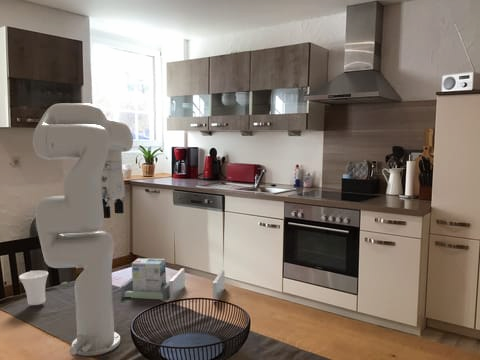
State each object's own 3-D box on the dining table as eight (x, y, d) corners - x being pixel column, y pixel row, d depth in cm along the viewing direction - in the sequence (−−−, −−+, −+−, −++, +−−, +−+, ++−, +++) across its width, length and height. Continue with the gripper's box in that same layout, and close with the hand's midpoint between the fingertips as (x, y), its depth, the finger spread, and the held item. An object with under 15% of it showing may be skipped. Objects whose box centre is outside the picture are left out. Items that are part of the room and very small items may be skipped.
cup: (47, 295, 151) (45, 267, 150) (52, 303, 143) (50, 274, 142) (19, 300, 146) (17, 272, 145) (22, 309, 138) (20, 279, 137)
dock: (166, 299, 148) (165, 288, 148) (121, 297, 151) (121, 286, 151) (177, 287, 161) (176, 276, 160) (135, 285, 163) (135, 275, 163)
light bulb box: (166, 286, 158) (165, 258, 157) (161, 293, 151) (160, 263, 150) (138, 285, 159) (137, 257, 158) (132, 292, 153) (131, 262, 152)
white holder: (216, 303, 145) (216, 282, 144) (169, 300, 147) (169, 280, 147) (224, 288, 158) (224, 270, 158) (181, 286, 161) (181, 268, 160)
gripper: (108, 167, 138) (110, 220, 140) (131, 165, 155) (133, 211, 157) (87, 167, 140) (89, 219, 141) (112, 165, 157) (114, 211, 158)
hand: (112, 215), depth 149 cm, fingers open, 9 cm apart
